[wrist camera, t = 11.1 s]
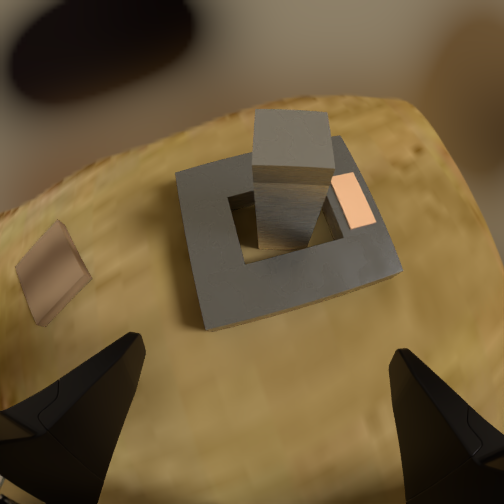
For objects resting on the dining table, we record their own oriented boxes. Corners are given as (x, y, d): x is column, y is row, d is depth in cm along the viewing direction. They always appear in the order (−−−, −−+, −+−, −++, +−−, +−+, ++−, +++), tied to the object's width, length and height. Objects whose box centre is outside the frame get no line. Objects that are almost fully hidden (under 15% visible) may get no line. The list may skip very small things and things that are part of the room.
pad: (92, 278, 24) (84, 274, 23) (45, 326, 23) (36, 325, 22) (64, 224, 27) (57, 219, 25) (23, 270, 25) (15, 266, 24)
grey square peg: (305, 250, 24) (335, 168, 13) (258, 248, 25) (251, 165, 13) (304, 208, 26) (327, 112, 14) (260, 207, 26) (255, 109, 14)
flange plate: (391, 278, 23) (404, 269, 20) (212, 331, 22) (205, 329, 20) (335, 150, 28) (340, 134, 25) (182, 186, 27) (174, 171, 24)
